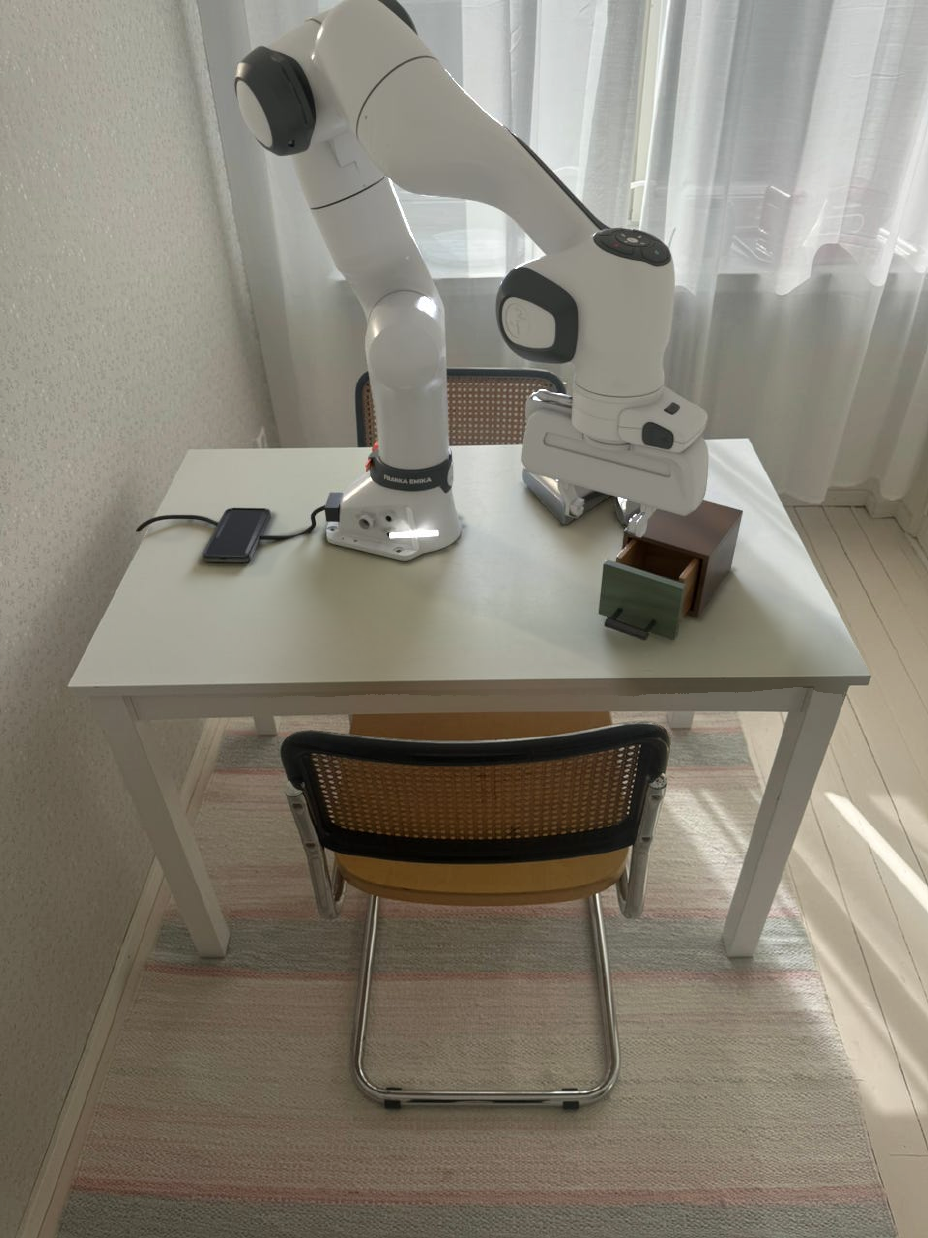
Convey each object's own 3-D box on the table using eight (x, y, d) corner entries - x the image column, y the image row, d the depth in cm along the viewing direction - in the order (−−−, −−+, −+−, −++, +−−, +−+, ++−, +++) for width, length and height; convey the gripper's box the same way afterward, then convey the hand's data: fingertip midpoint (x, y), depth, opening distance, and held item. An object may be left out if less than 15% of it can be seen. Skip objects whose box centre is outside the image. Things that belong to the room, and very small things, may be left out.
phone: (271, 508, 144) (248, 556, 132) (272, 513, 145) (249, 562, 133) (226, 507, 144) (199, 555, 133) (227, 513, 145) (201, 561, 133)
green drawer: (662, 657, 112) (671, 605, 106) (585, 629, 117) (590, 578, 111) (707, 592, 123) (717, 542, 118) (635, 569, 128) (642, 520, 123)
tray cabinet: (697, 617, 120) (709, 556, 113) (616, 590, 125) (623, 530, 119) (730, 569, 129) (743, 510, 122) (654, 546, 135) (662, 488, 128)
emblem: (533, 421, 159) (683, 431, 155) (532, 447, 163) (679, 457, 158) (510, 494, 138) (683, 508, 133) (510, 521, 141) (678, 537, 137)
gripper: (511, 396, 87) (509, 511, 95) (700, 441, 78) (680, 564, 86) (540, 375, 91) (536, 488, 100) (724, 416, 82) (702, 536, 91)
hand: (604, 524), depth 93 cm, fingers open, 6 cm apart
